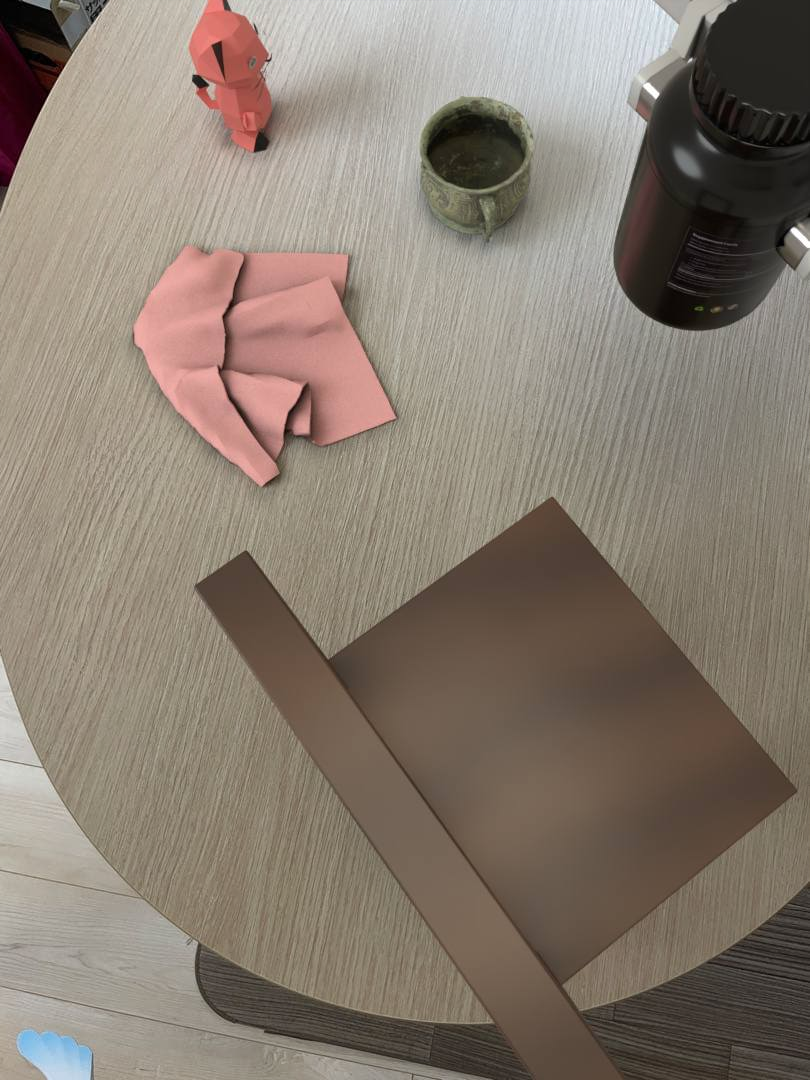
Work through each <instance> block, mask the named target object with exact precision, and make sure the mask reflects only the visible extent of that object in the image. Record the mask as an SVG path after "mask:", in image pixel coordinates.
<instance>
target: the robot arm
mask: <svg viewBox="0 0 810 1080" xmlns="http://www.w3.org/2000/svg"><path fill="white" fill-rule="evenodd" d="M652 1H653V2H654V3H656V5H657V6H658V7H660V9H662V10H663V11H664V12H665V13H666V14H667V16H669V17H670V18H671V19H672V20H673V21H674V22H675V23H677V24H678V26H677V28H676V31H675V34H674V36H673V37H672V40H671V42H670V45H669V47H668V50H667V51H666V52H664V53H663V54H661V55H660V56H659V57H657V58H655V59H653V60H652V61H651V62H649V63H648V64H646V65H645V66H643V67H642V68H641V69H640V70H638V72H637V74H635V76H634V77H633V79H632V81H631V84H630V88H629V93H628V95H627V96H628V97H627V101H626V102H627V105H629V107H631V109H632V110H633V111H635V113H637V114H638V115H639V117H641V118H642V120H644V121H645V122H646V123H647V122H648V119H649V116H650V113H651V110H652V107H653V105H654V103H655V100H656V98H657V96H658V95H659V93H660V91H661V90H662V88H663V87H664V86H665V84H666V83H667V82H668V81H669V79H670V78H671V77H672V76H673V75H674V74H675V73H676V72H678V71H679V70H680V69H681V68H682V67H683V66H685V65H686V64H688V63H689V62H690V60H691V61H692V60H694V59H695V58H697V57H698V55H699V53H700V52H701V49H702V45H703V43H704V40H705V38H706V36H707V33H708V30H709V28H710V26H711V25H712V24H713V23H714V22H715V20H716V17H717V16H718V14H719V13H721V12H723V11H725V9H726V7H727V6H728V5H729V4H731V3H734V2H736V1H737V0H652ZM777 253H778V255H779V256H780V257H781V258H782V259H783V260H784V261H785V262H786V263H787V266H789V267H790V268H791V269H792V270H793V272H795V273H796V274H797V275H798V276H799V277H800V278H801V279H802V281H804V282H806V281H809V280H810V217H807V218H805V219H804V220H802V221H800V222H799V223H797V224H796V225H794V226H793V227H792V228H791V229H790V231H789V232H788V233H787V234H786V236H785V238H784V243H783V244H782V245H781V246H779V248H778V250H777Z"/></svg>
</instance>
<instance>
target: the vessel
mask: <svg viewBox="0 0 810 1080" xmlns="http://www.w3.org/2000/svg"><path fill="white" fill-rule="evenodd" d="M426 121H427V122H426V123H425V125H424V127H423V129H422V131H421V133H420V140H419V155H420V159H421V161H420V177H419V181H420V182H419V183H420V187H421V189H422V192H423V193H424V196H425V197H426V199H427V204H428V206H429V208H430V209H431V212H432V214H433V216H434V217H435V218H436V219H437V220H438V221H440V222H441V224H443V225H444V226H446V227H447V228H450V229H452V230H454V231H456V232H459V233H463V234H467V235H481V234H482V239H483V242H484V243H485V244H489V243H490V238H492V237H494V234H495V230H496V229H498V228H500V227H501V226H503V225H504V224H505V223H506V222H507V221H508V220H509V219H511V217H513V216H514V214H515V212H516V210H517V208H518V206H519V205H520V203H521V202H522V201H523V198H524V197H525V194H526V192H527V190H528V187H529V185H530V182H531V160H532V158H533V156H534V142H535V141H534V134H533V131H532V129H531V127H530V125H529V123H528V122H527V120H526V118H525V116H524V115H523V114H521V112H520V111H518V110H516V109H515V108H514V107H513V106H511V105H510V104H509V103H505V102H502V101H500V100H497V99H495V98H491V97H486V96H485V97H484V96H464V95H461V96H460V98H457V99H455V100H452V101H450V102H448V103H446V104H445V105H443V106H441V107H440V108H439V109H438V110H437V111H436V112H435V113H434V114H433V115H432V116H431V117H430V118H428V120H426Z"/></svg>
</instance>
